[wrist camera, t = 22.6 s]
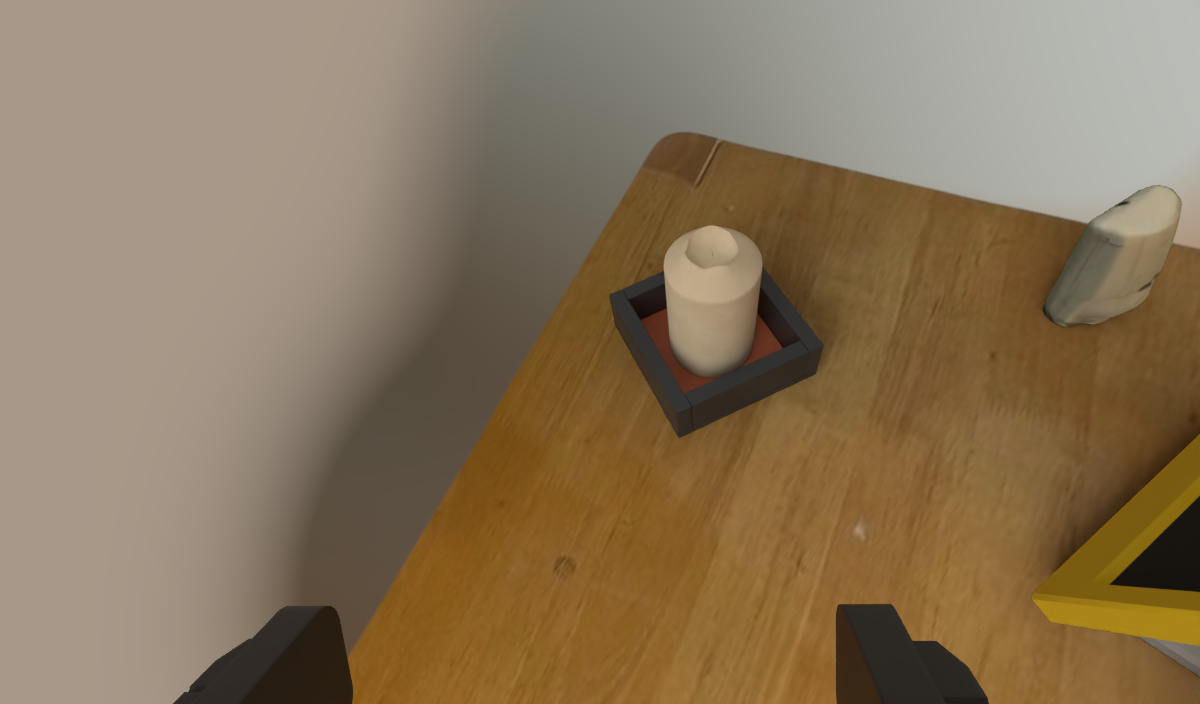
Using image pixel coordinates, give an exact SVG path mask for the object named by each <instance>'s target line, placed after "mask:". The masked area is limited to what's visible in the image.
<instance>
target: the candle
mask: <svg viewBox="0 0 1200 704" xmlns="http://www.w3.org/2000/svg"><path fill="white" fill-rule="evenodd" d="M761 275H762V256H761V254H760V251H759V249H758V247H757V246H756V245H755V243H754V242H753V241H752V240H751V239H749V238H748V237H747V236H745V235H744V234H742V233H740V232H738V231H735V230H732V229H729V228H724V227H717V226H713V225H710V226H706V227H703V228H699V229H696V230H693V231H690V232H688V233H686V234H684V235H682V236H681V237H680V238H678V239H677V240H676V241H675V242H674V243H673V244H672V245H671V246H670V248H669V249H668V251H667V253H666V255H665V259H664V277H665V289H666V301H667V313H668V325H669V338H670V346H671V350H672V353H673V355H674V358H675V359H676V361H677V362H678V363H679V365H680V366H681V367H682V368H684V369H685V370H686V371H688V372H690V373H692V374H694V375H697V376H700V377H706V378H717V377H721V376H724V375H726V374H728V373H730V372H732V371H735V370H737V369H739V368H741V367H742V366H743V365H744V364H745V362H746V361H747V359H748V358H749V356H750V353H751V351H752V346H753V340H754V333H755V324H756V316H757V308H758V300H759V291H760V283H761Z"/></svg>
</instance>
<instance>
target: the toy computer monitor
mask: <svg viewBox="0 0 1200 704" xmlns="http://www.w3.org/2000/svg"><path fill="white" fill-rule="evenodd" d="M1032 598H1033V600H1034V602H1035V603H1036V604H1037V605H1038V606H1039V608H1040V609H1041V610H1042V611H1043V613H1044V614H1045V615H1046V616H1047V618H1048V619H1049V620H1050V621H1051V622H1055V623H1062V624H1068V625H1074V626H1080V627H1086V628H1092V629H1098V630H1104V631H1111V632H1117V633H1123V634H1129V635H1135V636H1138V637H1140V638H1141V639H1143V640H1144V641H1146V642H1147V643H1149V644H1150V645H1152V646H1153V647H1155V648H1157V649H1158V650H1160V651H1161V652H1163V653H1164V654H1166V655H1167V656H1169V657H1170V658H1172V659H1173V660H1175V661H1177V662H1178V663H1180V664H1181V665H1183V666H1184V667H1186V668H1187V669H1189V670H1190V671H1192V672H1194V673H1195V674H1197V675H1198V676H1200V434H1199V435H1198V436H1197V437H1196V438H1195V439H1194V440H1193V441H1192V442H1191V443H1190V444H1189V445H1188V446H1187V447H1186V448H1185V449H1183V450H1182V451H1181V452H1180V453H1179V454H1178V455H1177V456H1176V457H1175V458H1174V459H1173V460H1172V461H1171V462H1170V463H1169V464H1168V465H1167V466H1166V467H1165V468H1163V469H1162V470H1161V471H1160V472H1159V473H1158V474H1157V475H1156V476H1155V477H1154V478H1153V479H1152V480H1151V481H1150V482H1149V483H1148V484H1147V485H1146V486H1145V487H1144V488H1142V489H1141V490H1140V491H1139V492H1138V493H1137V494H1136V495H1135V496H1134V497H1133V498H1132V499H1131V500H1130V501H1129V502H1128V503H1127V504H1126V505H1125V506H1124V507H1122V508H1121V509H1120V510H1119V511H1118V512H1117V513H1116V514H1115V515H1114V516H1113V517H1112V518H1111V519H1110V520H1109V521H1108V522H1107V523H1106V524H1105V525H1104V526H1103V527H1101V528H1100V529H1099V530H1098V531H1097V532H1096V533H1095V534H1094V535H1093V536H1092V537H1091V538H1090V539H1089V540H1088V541H1087V542H1086V543H1085V544H1084V545H1083V546H1081V547H1080V548H1079V549H1078V550H1077V551H1076V552H1075V553H1074V554H1073V555H1072V556H1071V557H1070V558H1069V559H1068V560H1067V561H1066V562H1065V563H1064V564H1063V565H1062V566H1060V567H1059V568H1058V569H1057V570H1056V571H1055V572H1054V573H1053V574H1052V575H1051V576H1050V577H1049V578H1048V579H1047V580H1046V581H1045V582H1044V583H1043V584H1042V585H1040V586H1039V587H1038V588H1037V589H1036V590H1035V591H1034V592H1033V593H1032Z"/></svg>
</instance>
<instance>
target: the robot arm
mask: <svg viewBox="0 0 1200 704" xmlns="http://www.w3.org/2000/svg"><path fill="white" fill-rule="evenodd" d="M836 698H837V704H989V703H988V698H987V696H986V695H985V693H984V691H983V690H982V688H981V687H980V685H979V684H978V682H977V680H976V679H975V677H974V676H973V674H972V672H971V671H970V669H969V668H968V666H966V665H965V664H964V663H963V662H961V661H960V660H959V659H958V658H956V657H955V656H954V655H953V654H952V653H950V652H949V651H948V650H947V649H945V648H944V647H943V646H942V645H941V644H939V643H938V642H937V641H912V639H911V638H910V636H909V634H908V632H907V630H906V628H905V626H904V625H903V623H902V621H901V619H900V617H899V615H898V613H897V612H896V610H895V608H894V607H893V606H892V605H891V604H839V605H838V607H837V612H836ZM352 700H353V686H352V680H351V675H350V670H349V665H348V659H347V654H346V650H345V644H344V639H343V634H342V629H341V624H340V619H339V616H338V613H337V611H336V610H335V609H334V608H333V607H331V606H287V607H284V608H282V609H280V610H279V611H278V612H277V613H276V614H275V615H274V616H273V617H272V618H271V619H270V621H269V622H268V623H267V624H266V625H265V626H264V627H263V628H262V629H261V630H260V631H259V632H258V633H257V634H256V635H255V636H254V637H253V638H252V639H248V640H246V641H245V642H243V643H242V644H240V645H239V646H237V647H236V648H234V649H233V650H231V651H230V652H228V653H227V654H225V655H224V656H222V657H221V658H219V659H218V660H216V661H215V662H214V663H213V664H212V665H211V666H210V667H209V668H208V669H207V670H206V671H205V672H204V673H203V674H202V675H201V676H200V677H199V678H198V679H197V680H196V681H195V682H194V683H193V684H192V685H191V686H190V690H189V692H184V693H183V694H182V695H181V696H180V698H178V700H176V701H175V702H174V703H173V704H352Z"/></svg>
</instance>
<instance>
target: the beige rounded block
mask: <svg viewBox="0 0 1200 704" xmlns="http://www.w3.org/2000/svg"><path fill="white" fill-rule="evenodd" d="M1181 206H1182V203H1181V199H1180V197H1179V196H1178V195H1177V194H1176V193H1175V192H1174V191H1173V190H1172V189H1171V188H1168V187H1166V186H1160V185H1157V186H1150V187H1147V188H1144V189H1142V190H1139V191H1137V192H1136V193H1134V194H1133V195H1131V196H1130V197H1128V198H1127V199H1125V200H1124V201H1122V202H1120V203H1119V204H1117V205H1115V206H1114V207H1112V208H1110V209H1109V210H1107V211H1106V212H1104V213H1103V214H1101V215H1099V216H1097V217H1096V218H1094V219H1093V220H1092V221H1090V222H1089V224H1088V225H1087V226H1086V228H1085V230H1084V232H1083V234H1082V235H1081V237H1080V239H1079V241H1078V242H1077V244H1076V246H1075V247H1074V249H1073V251H1072V253H1071V255H1070V257H1069V259H1068V260H1067V262H1066V264H1065V266H1064V268H1063V270H1062V272H1061V274H1060V276H1059V277H1058V279H1057V281H1056V282H1055V284H1054V286H1053V288H1052V289H1051V291H1050V293H1049V295H1048V297H1047V298H1046V301H1045V304H1044V307H1043V312H1044V314H1045V315H1046V316H1047V317H1048V318H1049V319H1050V320H1052V321H1053V322H1055V323H1057V324H1059V325H1061V326H1065V327H1070V326H1073V325H1076V324H1080V323H1085V324H1097V323H1102V322H1104V321H1106V320H1108V319H1110V317H1114V316H1117V315H1120V314H1122V313H1124V312H1127V311H1129V310H1131V309H1133V308H1135V307H1137V306H1138V305H1140V304H1141V303H1142V302H1143V301H1144V300H1145V299H1146V298H1147V296H1148V294H1149V292H1150V290H1151V288H1152V286H1153V283H1154V281H1155V279H1156V277H1157V275H1158V274H1159V272H1160V271H1161V269H1162V268H1163V266H1164V263H1165V260H1166V257H1167V254H1168V252H1169V250H1170V248H1171V245H1172V242H1173V239H1174V236H1175V233H1176V229H1177V226H1178V222H1179V219H1180V213H1181Z"/></svg>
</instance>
